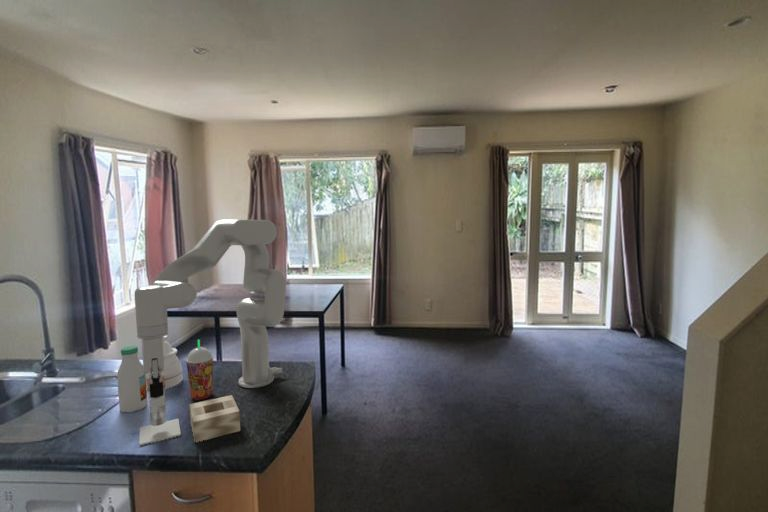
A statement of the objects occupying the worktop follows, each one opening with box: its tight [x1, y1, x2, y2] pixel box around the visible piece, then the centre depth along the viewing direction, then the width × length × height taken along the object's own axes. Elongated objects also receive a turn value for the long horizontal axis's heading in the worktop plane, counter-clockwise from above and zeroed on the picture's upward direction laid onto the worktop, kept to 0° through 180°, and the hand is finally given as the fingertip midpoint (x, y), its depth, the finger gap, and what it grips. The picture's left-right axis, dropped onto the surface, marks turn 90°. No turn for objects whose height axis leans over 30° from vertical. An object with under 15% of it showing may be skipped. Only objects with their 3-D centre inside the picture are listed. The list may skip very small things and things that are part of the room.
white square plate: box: [138, 418, 182, 446], centre depth 116 cm, size 10×10×1 cm
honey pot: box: [145, 335, 184, 389], centre depth 149 cm, size 13×13×18 cm
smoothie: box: [185, 339, 214, 401], centre depth 138 cm, size 8×8×20 cm
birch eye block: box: [188, 394, 241, 443], centre depth 118 cm, size 12×12×6 cm
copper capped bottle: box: [147, 375, 168, 426], centre depth 115 cm, size 4×4×13 cm
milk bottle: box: [116, 345, 148, 413], centre depth 130 cm, size 8×8×20 cm
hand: (156, 392), depth 114 cm, fingers closed on copper capped bottle, 4 cm apart
